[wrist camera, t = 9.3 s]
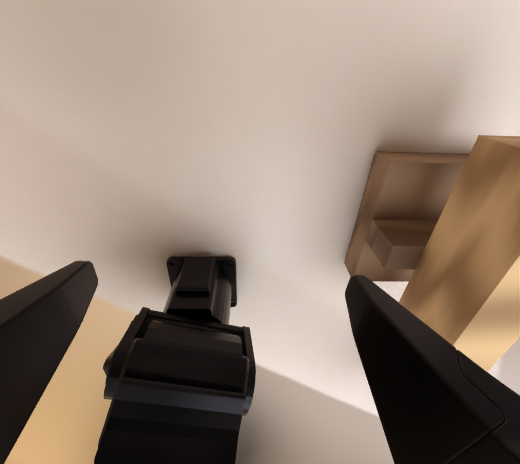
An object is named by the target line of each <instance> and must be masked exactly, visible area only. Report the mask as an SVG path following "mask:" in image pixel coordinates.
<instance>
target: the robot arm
mask: <svg viewBox="0 0 520 464" xmlns="http://www.w3.org/2000/svg"><path fill="white" fill-rule="evenodd" d="M172 262H174V263H172ZM229 262H232V264H230V263H229ZM167 268H168V273H169V277H170V282H171V287H172V289H171V291H170V294H169V297H168V300H167V302H166V305H165V308H164V311H163V312H159V311H154V310H150V308H145V307H143V308H142V309H141V311H140V313H139V314H138V315H136V316H135V318H134V320H133V321H132V322H131V324H130V326H129V328H128V330H127V331H126V333H125V335H124V336H123V338H122V340H121V341H120V343H119V345H118V346H117V347H116V348H115V349H114V351H113V352H112V353H111V354H110V355H109V356H108V358H107V359H106V361H105V363H104V366H103V369H104V371H105V373H106V376H107V377H106V386H105V390H104V399H111V400H112V402H111V405H110V408H109V411H108V414H107V417H106V421H105V424H104V427H103V430H102V433H101V436H100V439H99V443H98V450H97V453H96V456H95V459H94V464H235V459H236V451H237V442H238V435H239V430H240V424H241V418H242V415H243V416H245V415H246V414H247V412H248V411H249V408H250V406H251V402H252V398H253V393H254V387H255V374H256V369H255V368H256V367H255V359H254V353H253V347H252V340H251V334H250V328H249V327H244V326H243V327H238V326H233V325H229V316H230V307H235V306H236V305H237V285H236V260H235V259H234V258H231V257H170V258H168V260H167ZM97 285H98V278H97V275H96V272H95V269H94V266H93V264H92V263H91V262H90V261H75V262H73V263H71V264H69V265H67V266H65V267H63V268H61V269H59V270H57V271H56V272H54V273H52V274H50V275H48V276H46V277H44V278H42V279H40V280H38V281H36V282H34V283H32V284H30V285H28V286H26V287H24V288H22V289H20V290H18V291H16V292H14V293H13V294H10V295H8V296H6V297H4V298H2V299H1V300H0V464H4V463H5V460H6V459H7V457H8V455H9V454H10V452H11V450H12V448H13V446H14V444H15V443H16V441H17V439H18V437H19V436H20V434H21V432H22V430H23V428H24V427H25V425H26V423H27V421H28V419H29V418H30V416H31V414H32V412H33V410H34V408H35V407H36V405H37V403H38V401H39V400H40V398H41V396H42V394H43V392H44V391H45V389H46V387H47V385H48V383H49V382H50V380H51V378H52V376H53V374H54V373H55V371H56V369H57V367H58V365H59V364H60V362H61V360H62V358H63V356H64V354H65V353H66V351H67V349H68V347H69V346H70V344H71V342H72V340H73V339H74V337H75V335H76V333H77V331H78V329H79V327H80V325H81V323H82V321H83V319H84V316H85V314H86V312H87V309H88V307H89V304H90V302H91V300H92V297H93V295H94V293H95V290H96V288H97ZM345 299H346V303H347V308H348V313H349V318H350V323H351V328H352V332H353V336H354V340H355V343H356V346H357V349H358V352H359V355H360V359H361V362H362V365H363V368H364V371H365V374H366V377H367V380H368V383H369V386H370V389H371V393H372V396H373V399H374V402H375V405H376V408H377V411H378V414H379V417H380V420H381V423H382V426H383V430H384V433H385V436H386V439H387V442H388V445H389V448H390V451H391V454H392V457H393V460H394V464H520V395H518V394H517V393H515V392H514V391H512V390H511V389H510V388H508V387H507V386H505V385H504V384H503V383H501V382H500V381H499V380H497V379H496V378H495V377H493V376H492V375H490V374H489V373H488V372H486V371H485V370H484V369H483V368H481V367H480V366H479V365H477V364H476V363H475V362H473V361H472V360H471V359H470V358H468V357H467V356H466V355H465V354H463V353H462V352H461V351H459V350H456V348H455V347H454V346H453V345H452V344H450V343H449V342H448V341H447V340H445V339H444V338H443V337H442V336H440V335H439V334H438V333H437V332H435V331H434V330H433V329H431V328H430V327H429V326H428V325H426V324H425V323H424V322H423V321H421V320H420V319H419V318H418V317H416V316H415V315H414V314H412V313H411V312H410V311H409V310H407V309H406V308H405V307H404V306H402V305H401V304H400V303H399V302H397V301H396V300H395V299H394V298H392V297H391V296H390V295H388V294H387V293H386V292H385V291H383V290H382V289H381V288H380V287H378V286H377V285H376V284H375V283H373V282H372V281H371V280H369V279H368V278H367V277H366V276H364V275H352V276H351V277H350V280H349V282H348V285H347V288H346V291H345ZM231 302H233V303H231Z"/></svg>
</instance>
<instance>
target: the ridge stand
mask: <svg viewBox="0 0 520 464" xmlns="http://www.w3.org/2000/svg"><path fill="white" fill-rule="evenodd" d="M469 155H470V154H443V153H406V152H375V155H374V159H373V162H372V166H371V170H370V173H369V177H368V180H367V184H366V188H365V191H364V195H363V199H362V202H361V206H360V209H359V213H358V217H357V220H356V224H355V228H354V231H353V235H352V238H351V242H350V246H349V249H348V253H347V256H346V260H345V265H346V267H347V270H348V272H349V274H350V276H352V275H364V276H366V277H367V278H368V279H369V280H371V281H410V278H411V276H412V274H413V272H414V270H415V268H416V266H417V264H418V262H419V260H420V258H421V255H422V253H423V251H424V249H425V247H426V245H427V243H428V241H429V239H430V237H431V234H432V232H433V230H434V228H435V226H436V224H437V222H438V220H439V218H440V216H441V214H442V211H443V209H444V207H445V205H446V203H447V201H448V199H449V197H450V195H451V193H452V191H453V188H454V186H455V184H456V182H457V180H458V178H459V176H460V174H461V172H462V170H463V167H464V165H465V163H466V161H467V159H468V157H469Z"/></svg>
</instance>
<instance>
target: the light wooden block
mask: <svg viewBox="0 0 520 464" xmlns="http://www.w3.org/2000/svg"><path fill="white" fill-rule="evenodd" d="M399 303H400V304H401V305H402V306H404V307H405V308H406V309H407V310H409V311H410V312H411V313H412V314H414V315H415V316H416V317H418V318H419V319H420V320H421V321H423V322H424V323H425V324H426V325H428V326H429V327H430V328H431V329H433V330H434V331H435V332H437V333H438V334H439V335H440V336H442V337H443V338H444V339H445V340H447V341H448V342H449V343H450V344H452V345H453V346H454V347H455V348H456V350H459V351H461V352H462V353H463V354H465V355H466V356H467V357H468V358H470V359H471V360H472V361H473V362H475V363H476V364H477V365H479V366H480V367H481V368H483V369H484V370H485V371H486V372H487V371H488V370H489V369H490V368H491V367H492V366H493V365H494V364H495V363H496V362H497V360H498V359H499V358H500V357H501V356H502V355H503V354H504V353H505V352H506V351H507V350H508V349H509V348H510V347H511V346H512V345H513V343H515V342H516V340H517V339H518V338H519V337H520V137H517V136H485V135H479V136H478V138H477V140H476V142H475V144H474V147H473V149H472V151H471V153H470V155H469V157H468V159H467V161H466V163H465V165H464V167H463V170H462V172H461V174H460V176H459V178H458V180H457V182H456V184H455V186H454V188H453V191H452V193H451V195H450V197H449V199H448V201H447V203H446V205H445V207H444V209H443V211H442V214H441V216H440V218H439V220H438V222H437V224H436V226H435V228H434V230H433V232H432V234H431V237H430V239H429V241H428V243H427V245H426V247H425V249H424V251H423V253H422V255H421V258H420V260H419V262H418V264H417V266H416V268H415V270H414V272H413V274H412V276H411V278H410V281H409V283H408V285H407V287H406V289H405V291H404V293H403V295H402V297H401V299H400V301H399Z"/></svg>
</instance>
